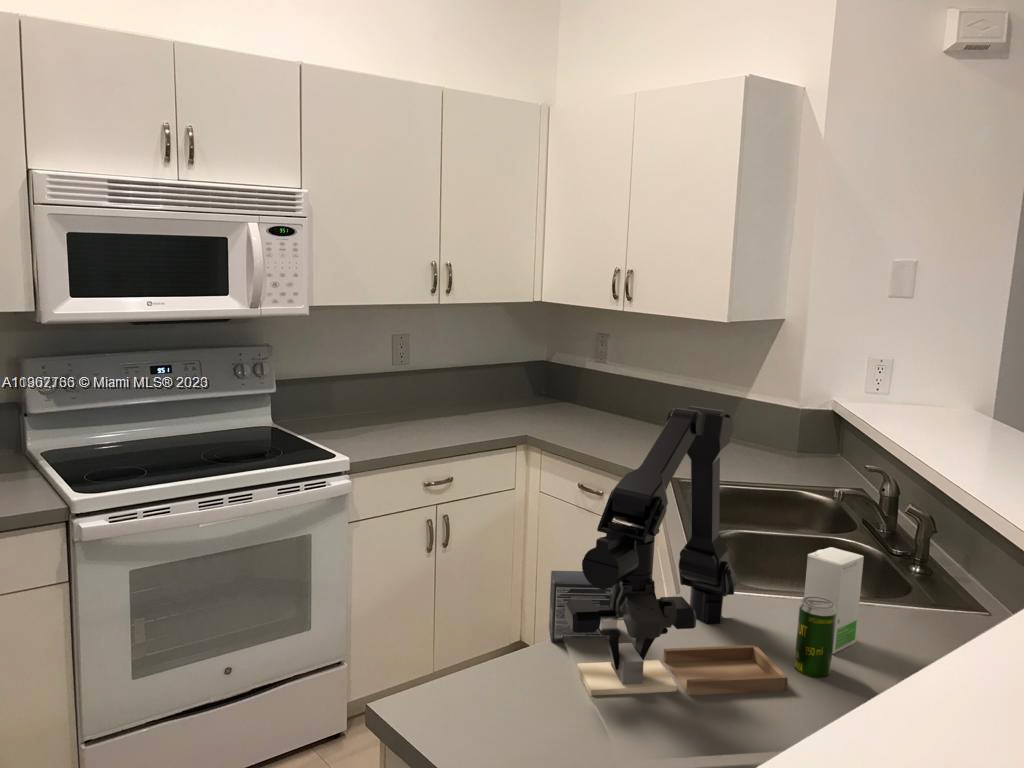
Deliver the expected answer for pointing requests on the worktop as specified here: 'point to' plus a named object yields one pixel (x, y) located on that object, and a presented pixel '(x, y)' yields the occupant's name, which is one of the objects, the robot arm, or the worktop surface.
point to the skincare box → (837, 589)
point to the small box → (572, 588)
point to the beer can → (815, 637)
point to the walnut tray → (724, 670)
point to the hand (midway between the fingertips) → (626, 668)
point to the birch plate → (612, 685)
